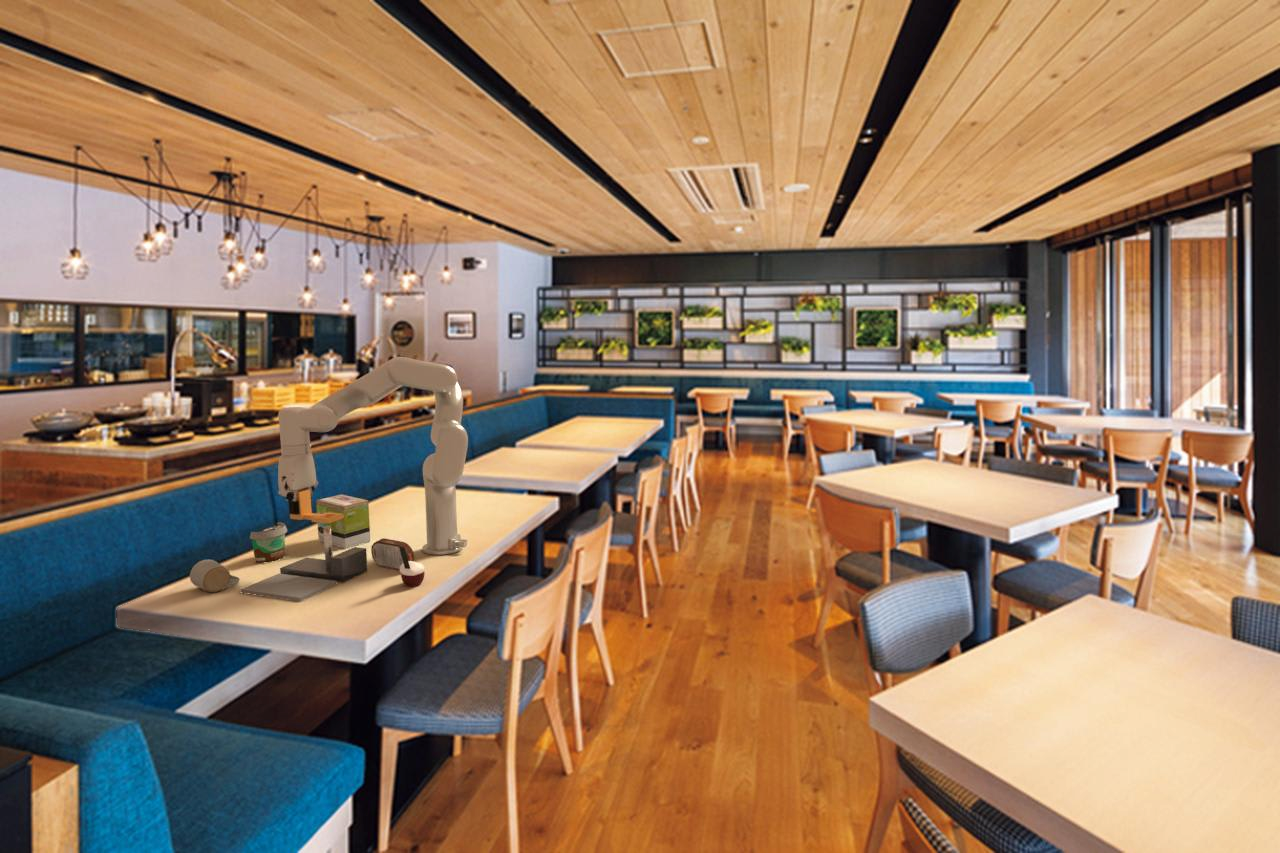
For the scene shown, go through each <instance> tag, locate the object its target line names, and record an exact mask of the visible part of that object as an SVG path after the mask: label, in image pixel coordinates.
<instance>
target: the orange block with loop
mask: <svg viewBox="0 0 1280 853" xmlns="http://www.w3.org/2000/svg"><path fill="white" fill-rule="evenodd" d="M291 495H293V492H291ZM297 501H299V512H300V514H298V515H295V514H290V513H289V518H290V519H291V520H300V521H301V520H309V521H310V520H311V523H318V522H319V523H331V522H334V521H337V520H340V519H342V518H344V514H339V513H324V514H317V512H315V513H314V512H313V508H312V509H311V501H312V497H311V496H310V490H308V489H300V490H298V492H297Z"/></svg>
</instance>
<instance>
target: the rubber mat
mask: <svg viewBox="0 0 1280 853" xmlns="http://www.w3.org/2000/svg"><path fill="white" fill-rule="evenodd" d="M336 585H337V582H336V581H332V580H325V579H317V578H310V577H302V576H294V575H287V574H280V573H276V574H274V575H272V576H270V577H267V578H264V579H262V580H259V581H257V582H255V583H252V584H250V585H248V586H245V587H243V588H240V589H239V590H240V591H239V592H242V593H241V594H245V593H250V594H249V595H252V594H256V595H255V596H259V595H263V596H262V597H265V596H269V597H268V598H272V597H276V598H275V599H279V598H283V599H282V600H286V599H289V600H288V601H293V600H297V601H296V602H300V601H301V602H303V601H305V600H306V598H307V599H309V598H311V597H312V596H315V595H318V594H319V593H322V592H324V591H325V590H327V589H330V588H333V587H334V586H336ZM304 599H305V600H304ZM302 600H303V601H302Z"/></svg>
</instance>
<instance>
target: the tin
mask: <svg viewBox="0 0 1280 853" xmlns="http://www.w3.org/2000/svg"><path fill="white" fill-rule="evenodd" d="M370 547H371V558H372V561H373V562H374V563H375V564H376V565H377V566H379V567H381V568H385V567H386V568H387V569H391V570H396V571H400V566H401V565H402V564H403V560H402V556H401V553H400V549H399V547H404V548H405V551H406V554H407V558H408V561H414V562H415V552H414V550H413V548H412V547H411V546H410V545H409V544H408V543H407V542H405V541H400V540H395V539H389V538H380V539H379V540H376V541H375V542H373V543H372V545H371V546H370Z"/></svg>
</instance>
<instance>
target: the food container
mask: <svg viewBox="0 0 1280 853" xmlns="http://www.w3.org/2000/svg"><path fill="white" fill-rule="evenodd" d="M287 532H288V528H287V526H286V524H285V523H283V522H279V521H278V522H277V524H276V525H274V526H270V527H266V528H264V529H262V530H260V531H250V535H249V540H251V544H252V548H253V555H254V561H255V562H254V563H255V564H264V563H263V562H267V563H273V562H276V561H280V560H282V559H284V558H285V547H286V546H285V545H286V544H285V543H286V533H287ZM283 557H284V558H283ZM279 559H280V560H279ZM272 561H273V562H272Z"/></svg>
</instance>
